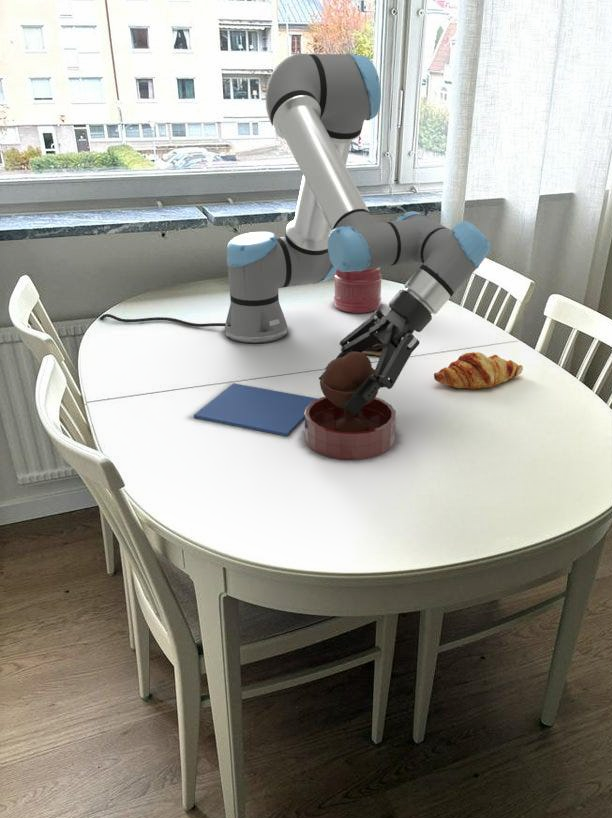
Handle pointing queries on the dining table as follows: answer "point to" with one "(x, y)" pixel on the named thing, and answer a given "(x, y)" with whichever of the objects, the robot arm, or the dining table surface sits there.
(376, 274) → the kitchen canister
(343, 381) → the ice cream bowl
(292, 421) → the cloth
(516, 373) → the croissant
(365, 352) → the open sandwich
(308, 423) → the pot
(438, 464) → the dining table surface
